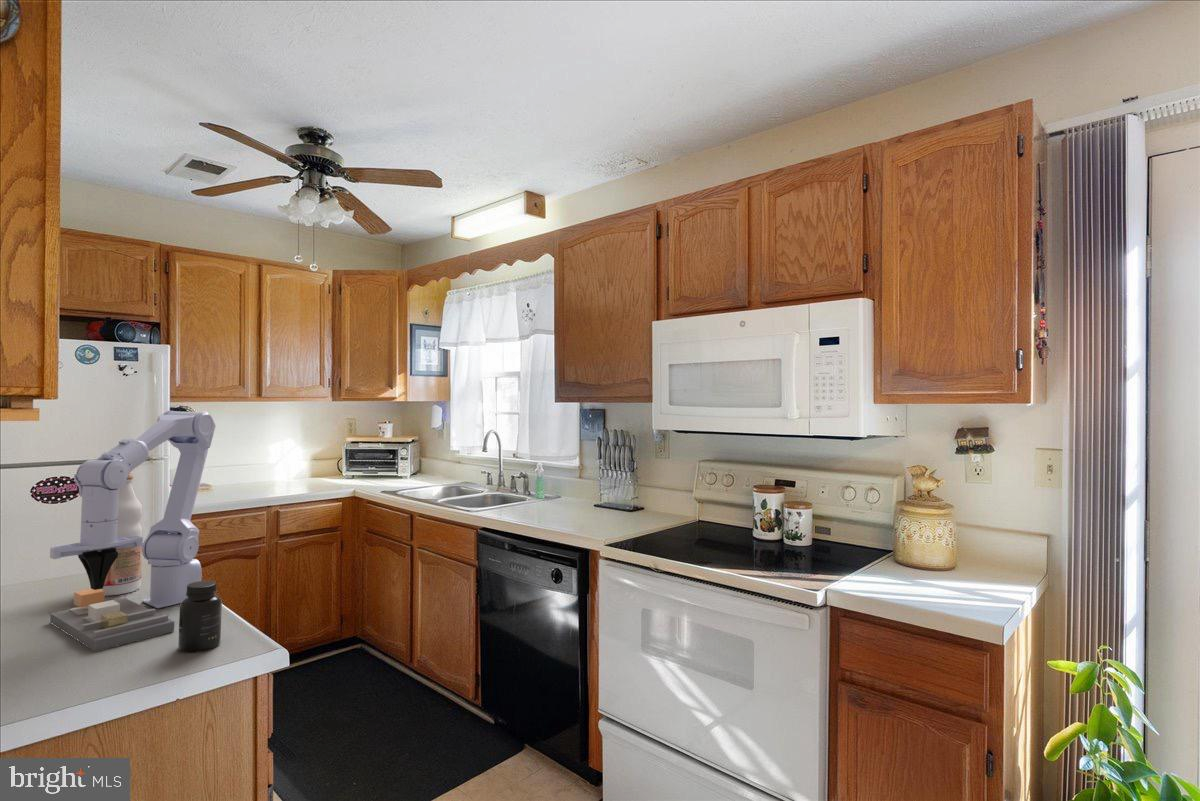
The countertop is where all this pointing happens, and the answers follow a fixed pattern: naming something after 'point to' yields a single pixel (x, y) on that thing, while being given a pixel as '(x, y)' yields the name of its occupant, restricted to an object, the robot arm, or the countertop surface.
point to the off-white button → (102, 609)
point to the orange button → (88, 597)
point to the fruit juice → (129, 560)
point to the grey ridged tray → (97, 638)
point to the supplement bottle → (200, 618)
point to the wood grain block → (113, 619)
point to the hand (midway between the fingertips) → (96, 588)
